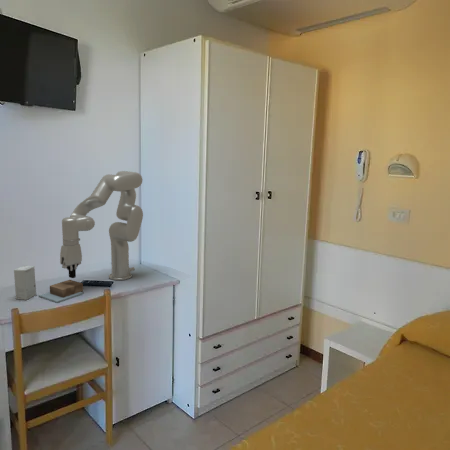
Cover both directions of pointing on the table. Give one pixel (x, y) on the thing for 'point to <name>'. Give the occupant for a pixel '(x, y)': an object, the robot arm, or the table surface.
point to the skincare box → (25, 282)
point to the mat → (57, 298)
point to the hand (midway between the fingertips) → (72, 277)
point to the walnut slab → (66, 288)
